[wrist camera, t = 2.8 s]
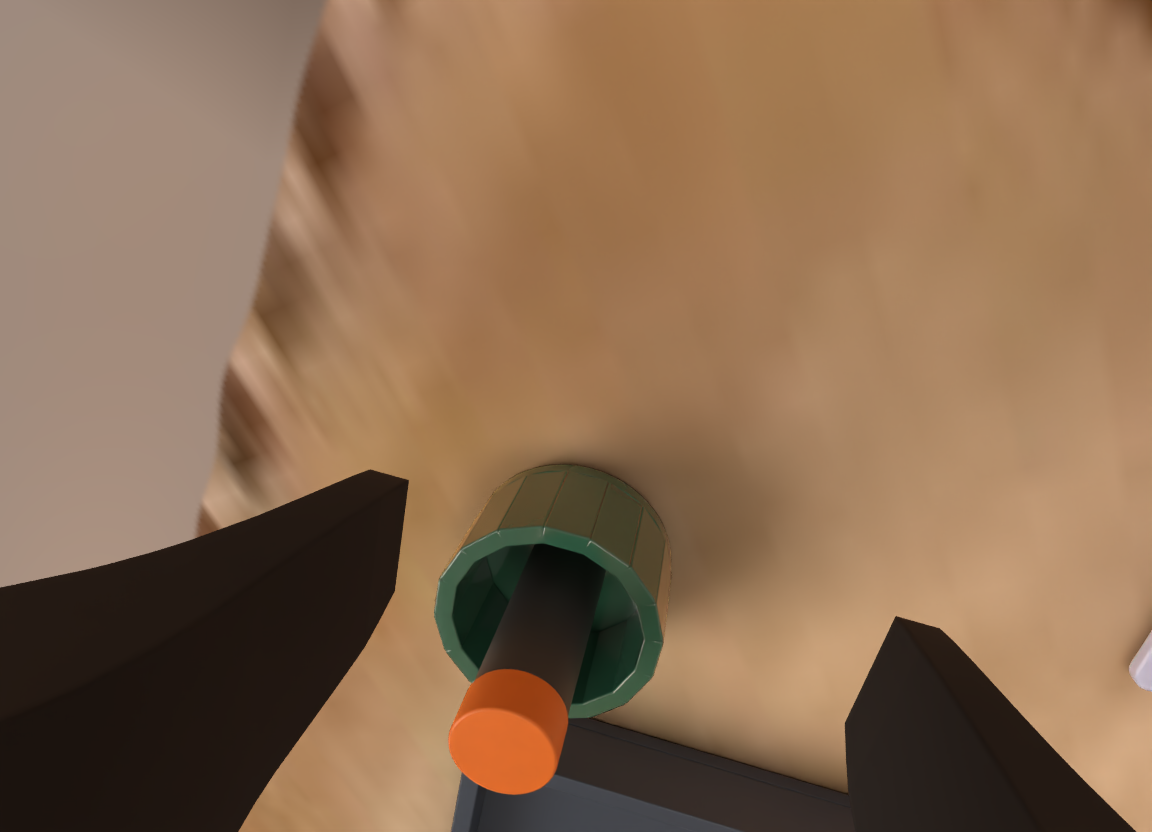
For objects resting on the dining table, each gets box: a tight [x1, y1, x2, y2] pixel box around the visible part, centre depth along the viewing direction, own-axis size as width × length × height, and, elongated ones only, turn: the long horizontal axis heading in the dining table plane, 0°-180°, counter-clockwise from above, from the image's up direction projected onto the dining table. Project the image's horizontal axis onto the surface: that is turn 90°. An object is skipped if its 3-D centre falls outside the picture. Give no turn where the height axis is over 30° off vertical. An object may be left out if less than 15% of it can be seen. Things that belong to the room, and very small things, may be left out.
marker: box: [448, 544, 606, 795], centre depth 18 cm, size 2×2×7 cm
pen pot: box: [434, 464, 672, 719], centre depth 20 cm, size 6×6×4 cm
